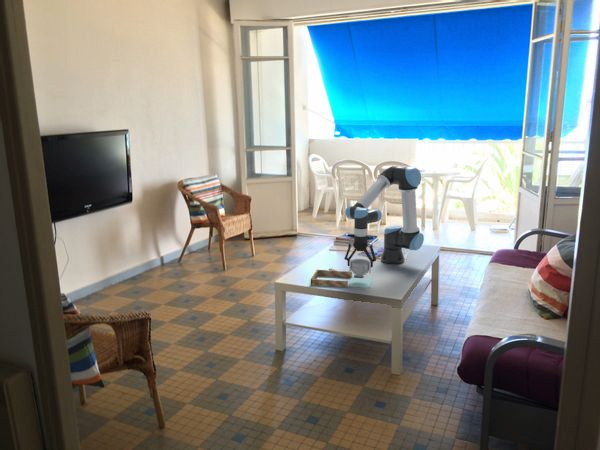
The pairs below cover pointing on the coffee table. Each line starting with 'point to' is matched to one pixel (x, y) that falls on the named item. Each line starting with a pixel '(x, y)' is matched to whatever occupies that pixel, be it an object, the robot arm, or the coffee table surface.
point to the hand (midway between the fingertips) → (360, 271)
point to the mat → (360, 282)
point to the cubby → (330, 282)
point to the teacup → (360, 266)
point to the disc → (358, 276)
